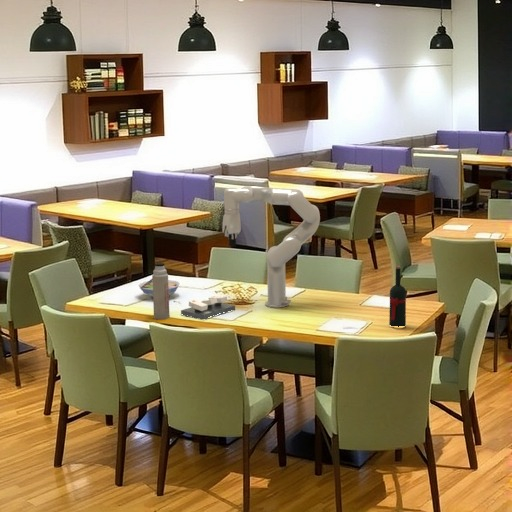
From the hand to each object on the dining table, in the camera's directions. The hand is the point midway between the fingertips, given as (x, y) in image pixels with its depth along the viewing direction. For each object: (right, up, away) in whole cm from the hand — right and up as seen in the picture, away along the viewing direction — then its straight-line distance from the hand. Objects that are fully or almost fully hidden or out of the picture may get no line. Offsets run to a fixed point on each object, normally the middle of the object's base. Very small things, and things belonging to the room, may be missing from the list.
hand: (232, 246), depth 501 cm
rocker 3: (-8, -29, -3) cm, 30 cm away
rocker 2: (-12, -30, -8) cm, 34 cm away
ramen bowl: (-41, -28, +28) cm, 57 cm away
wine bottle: (+80, -40, -41) cm, 99 cm away
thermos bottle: (-36, -37, -15) cm, 53 cm away
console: (-12, -34, -7) cm, 37 cm away
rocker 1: (-17, -32, -14) cm, 38 cm away
